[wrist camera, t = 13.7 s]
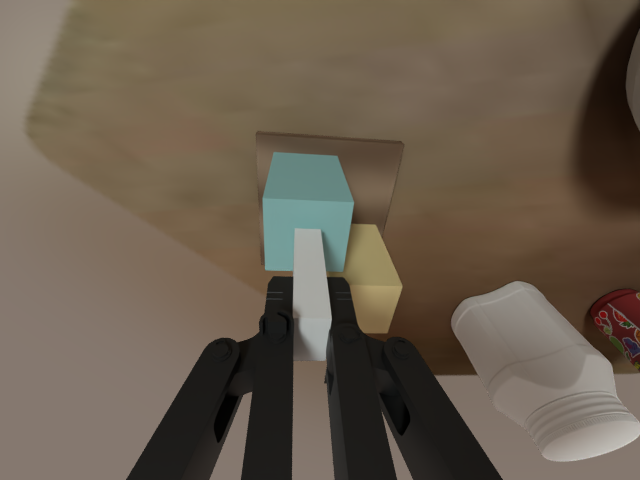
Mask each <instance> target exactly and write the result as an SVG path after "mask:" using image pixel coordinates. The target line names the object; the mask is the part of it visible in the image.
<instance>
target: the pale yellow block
mask: <svg viewBox="0 0 640 480" xmlns="http://www.w3.org/2000/svg"><path fill="white" fill-rule="evenodd" d="M326 276H327V277H344V278H345V280H346V281H347V282H348V283H349V286H350V290H351V295H352V300H353V304H354V309H355V313H356V318H357V323H358V326H359V328H360V329H361V330H362V332H363V333H388V330H389V327H390V324H391V321H392V318H393V315H394V311H395V308H396V305H397V302H398V299H399V296H400V293H401V290H402V287H403V286H402V283H401V281H400V279H399V276H398V274H397V272H396V270H395V267H394V265H393V263H392V260H391V258H390V256H389V254H388V251H387V249H386V247H385V245H384V242H383V240H382V238H381V235H380V233H379V231H378V229H377V226H376V225H370V224H351V225H350V231H349V238H348V244H347V250H346V256H345V263H344V269H343V272H331V271H326Z"/></svg>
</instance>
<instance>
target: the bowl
mask: <svg viewBox="0 0 640 480" xmlns="http://www.w3.org/2000/svg"><path fill="white" fill-rule="evenodd" d="M626 93H627V100H628V104H629V107H630V110H631V112H632V115H633V118H634V120H635V122H636V125H637V127H638V129H639V131H640V29H639V31H638V34H637V36H636V39H635V42H634V46H633V49H632V53H631V56H630V59H629V63H628V68H627V78H626Z"/></svg>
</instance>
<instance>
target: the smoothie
mask: <svg viewBox="0 0 640 480" xmlns="http://www.w3.org/2000/svg"><path fill="white" fill-rule="evenodd" d="M590 313H591V316H592V317H593V319H594V325H595V326H596V327H597V328H598V329H599V330H600V331H601V332H602V333H603V334H604V335H605V336H606V337H607V338H608V339H609V340H610V341H611V342H612V343H613V344H614V345H615V346H616V348H617V349H618V350H619V351H620V352H621V353H622V354H623V355H624V356H625V357H626V358H627V359H628V360H629V361H630V362H631V363H632V364H633V365H634V366H635V367H636V368H637V369H638V370H639V371H640V293H639V292H637V291H635V290H632V289H622V290H617V291H614V292H611V293H609V294H607V295H605V296H603V297H602V298H600V299H599V300H598V301H597V302H596V303H595V304H594V305H593V307H592V308H591V311H590Z"/></svg>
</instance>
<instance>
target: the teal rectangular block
mask: <svg viewBox="0 0 640 480" xmlns="http://www.w3.org/2000/svg"><path fill="white" fill-rule="evenodd" d="M262 199H263V225H264V252H265V270H281V271H293V260H294V234H295V228H301V229H321V236H322V244H323V252H324V260H325V268H326V271H331V272H343V269H344V263H345V256H346V250H347V244H348V238H349V231H350V225H351V219H352V213H353V206H354V201H353V198H352V195H351V192H350V190H349V187H348V184H347V181H346V178H345V176H344V173H343V170H342V167H341V165H340V162H339V159H338V156H331V155H314V154H297V153H281V152H274V153H273V157H272V161H271V166H270V170H269V174H268V178H267V182H266V186H265V190H264V194H263V198H262Z"/></svg>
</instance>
